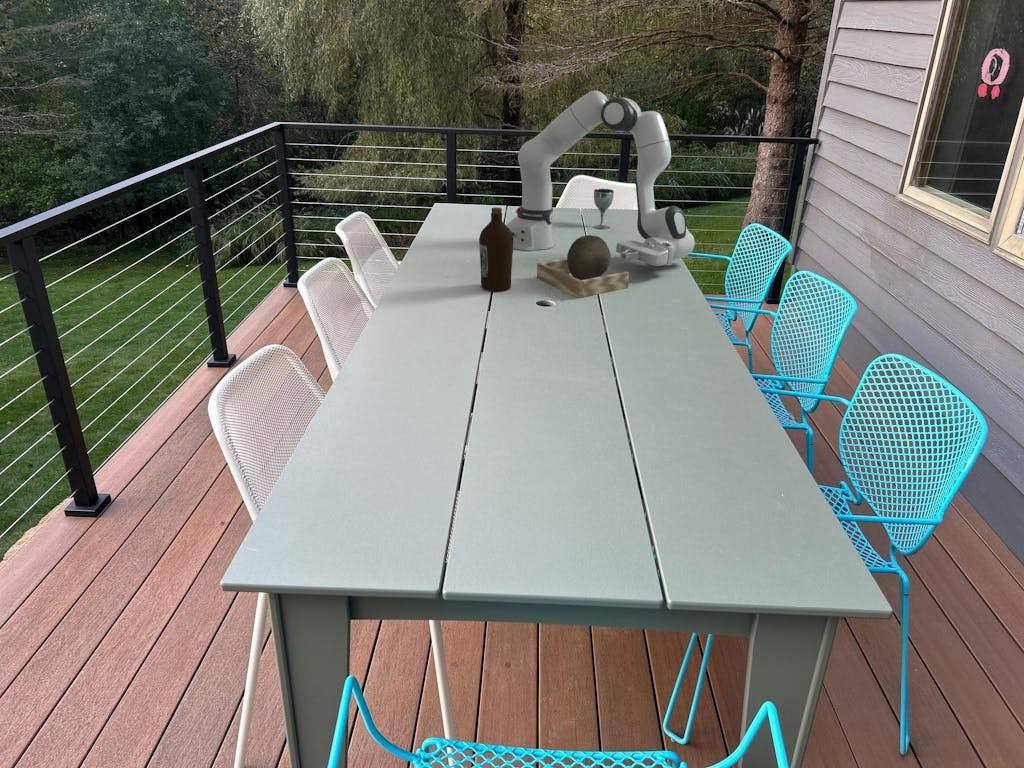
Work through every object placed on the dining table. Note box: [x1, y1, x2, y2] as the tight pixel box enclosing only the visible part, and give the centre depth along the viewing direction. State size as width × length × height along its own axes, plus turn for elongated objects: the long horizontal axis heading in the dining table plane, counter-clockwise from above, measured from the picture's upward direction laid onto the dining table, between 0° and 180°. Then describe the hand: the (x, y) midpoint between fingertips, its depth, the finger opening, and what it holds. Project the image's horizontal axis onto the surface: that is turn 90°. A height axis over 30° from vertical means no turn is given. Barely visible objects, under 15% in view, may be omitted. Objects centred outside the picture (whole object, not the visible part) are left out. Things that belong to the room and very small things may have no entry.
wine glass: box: [592, 188, 615, 230], centre depth 313 cm, size 8×8×15 cm
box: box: [536, 257, 630, 299], centre depth 247 cm, size 20×23×5 cm
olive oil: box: [478, 207, 514, 293], centre depth 237 cm, size 11×11×25 cm
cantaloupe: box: [566, 234, 612, 280], centre depth 246 cm, size 14×14×15 cm
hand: (623, 255), depth 253 cm, fingers closed
